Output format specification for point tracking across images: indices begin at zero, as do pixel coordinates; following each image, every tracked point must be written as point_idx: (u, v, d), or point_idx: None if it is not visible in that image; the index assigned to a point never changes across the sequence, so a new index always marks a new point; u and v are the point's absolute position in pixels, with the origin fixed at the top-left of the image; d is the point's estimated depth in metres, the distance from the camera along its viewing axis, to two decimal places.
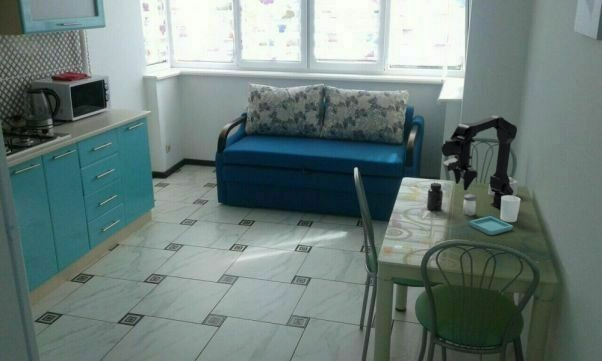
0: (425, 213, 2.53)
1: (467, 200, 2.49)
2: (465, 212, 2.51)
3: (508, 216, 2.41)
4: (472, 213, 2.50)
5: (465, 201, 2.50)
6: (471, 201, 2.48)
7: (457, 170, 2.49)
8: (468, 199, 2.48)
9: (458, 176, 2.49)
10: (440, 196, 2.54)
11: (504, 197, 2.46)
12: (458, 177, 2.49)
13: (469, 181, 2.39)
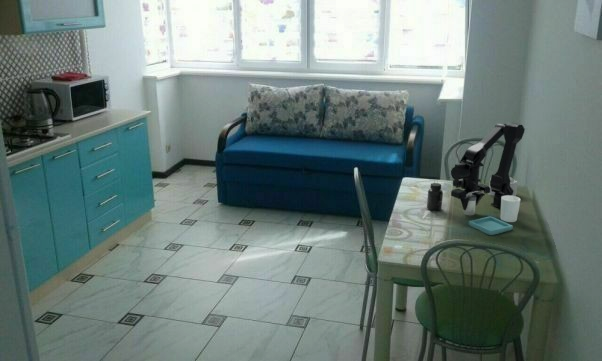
0: (426, 213, 2.53)
1: None
2: (465, 212, 2.51)
3: (508, 216, 2.41)
4: (472, 213, 2.50)
5: None
6: (471, 201, 2.48)
7: (475, 194, 2.52)
8: None
9: None
10: (440, 196, 2.54)
11: (504, 197, 2.46)
12: None
13: (464, 202, 2.48)
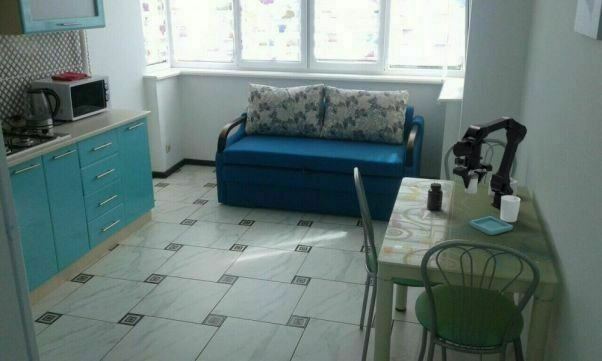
0: (426, 213, 2.53)
1: None
2: (467, 190, 2.48)
3: (508, 216, 2.41)
4: (474, 191, 2.47)
5: None
6: (473, 179, 2.45)
7: (477, 173, 2.49)
8: None
9: None
10: (440, 196, 2.54)
11: (504, 197, 2.46)
12: None
13: (466, 180, 2.45)
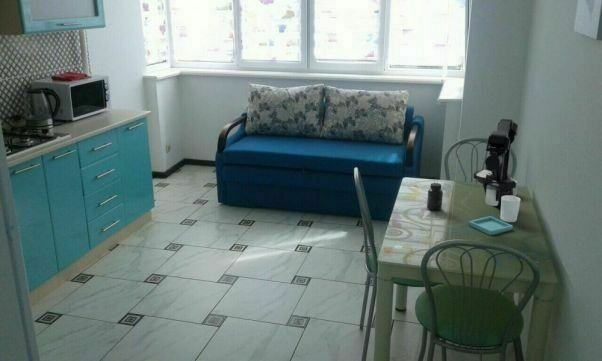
0: (426, 213, 2.53)
1: None
2: (497, 203, 2.32)
3: (508, 216, 2.41)
4: None
5: None
6: None
7: (488, 182, 2.34)
8: None
9: None
10: (440, 196, 2.54)
11: (504, 197, 2.46)
12: None
13: (502, 191, 2.29)
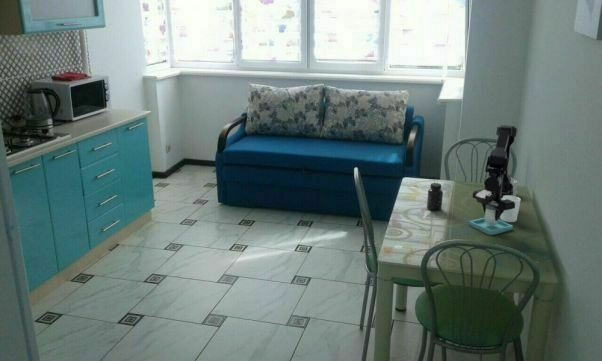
0: (426, 213, 2.53)
1: None
2: (496, 222, 2.34)
3: (508, 216, 2.41)
4: None
5: None
6: None
7: (487, 202, 2.36)
8: None
9: None
10: (440, 196, 2.54)
11: (504, 197, 2.46)
12: None
13: (501, 211, 2.31)
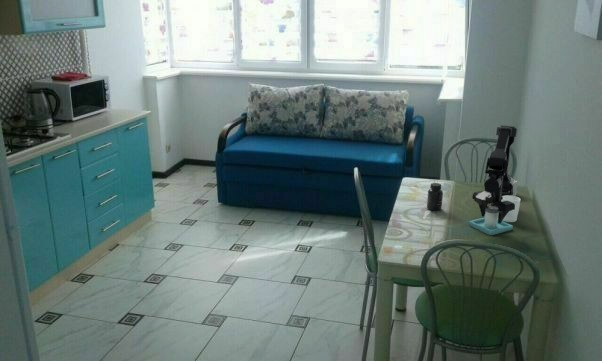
0: (426, 213, 2.53)
1: (497, 212, 2.33)
2: (495, 225, 2.34)
3: (508, 216, 2.41)
4: None
5: (495, 215, 2.33)
6: None
7: None
8: None
9: (484, 208, 2.39)
10: (440, 196, 2.54)
11: (504, 197, 2.45)
12: (484, 209, 2.39)
13: (504, 214, 2.30)
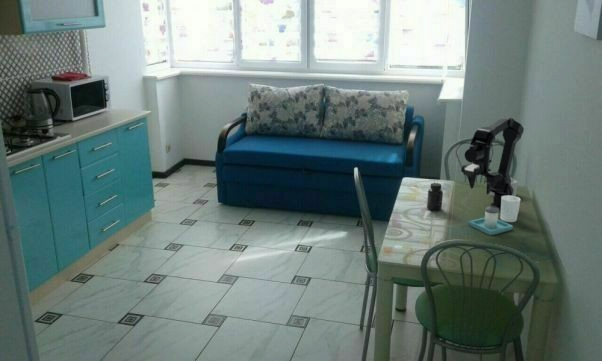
0: (426, 213, 2.53)
1: (497, 212, 2.33)
2: (495, 225, 2.34)
3: (508, 216, 2.41)
4: None
5: (495, 215, 2.33)
6: None
7: None
8: (498, 211, 2.33)
9: (473, 181, 2.48)
10: (440, 196, 2.54)
11: (504, 197, 2.46)
12: (473, 182, 2.48)
13: (492, 185, 2.39)
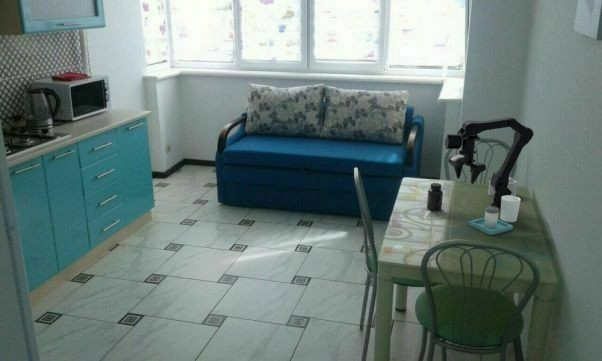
0: (426, 213, 2.53)
1: (497, 212, 2.33)
2: (495, 225, 2.34)
3: (508, 216, 2.41)
4: None
5: (495, 215, 2.33)
6: None
7: None
8: (498, 211, 2.33)
9: (459, 171, 2.61)
10: (440, 196, 2.54)
11: (504, 197, 2.45)
12: (459, 172, 2.61)
13: (477, 175, 2.52)
